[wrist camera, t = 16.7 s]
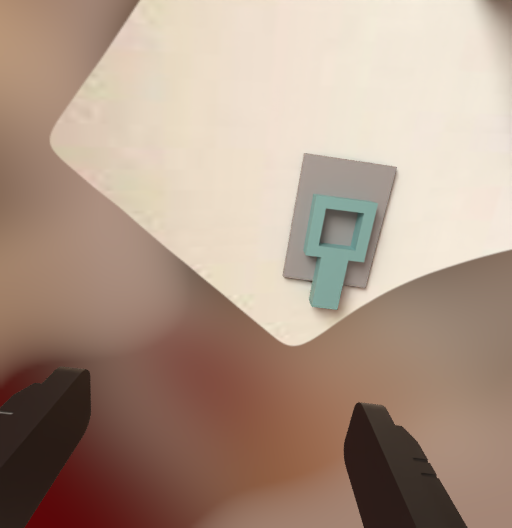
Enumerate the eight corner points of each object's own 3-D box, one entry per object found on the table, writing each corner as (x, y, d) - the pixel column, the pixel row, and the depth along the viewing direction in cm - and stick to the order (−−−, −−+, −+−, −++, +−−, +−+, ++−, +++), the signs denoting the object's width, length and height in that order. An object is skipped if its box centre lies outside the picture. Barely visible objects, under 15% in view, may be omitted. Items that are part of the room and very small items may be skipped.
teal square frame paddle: (313, 193, 35) (316, 195, 33) (371, 201, 35) (378, 203, 33) (294, 298, 38) (296, 304, 36) (347, 304, 38) (352, 311, 37)
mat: (304, 153, 34) (304, 153, 33) (394, 166, 34) (396, 166, 34) (282, 275, 38) (283, 276, 37) (363, 285, 38) (365, 287, 38)
